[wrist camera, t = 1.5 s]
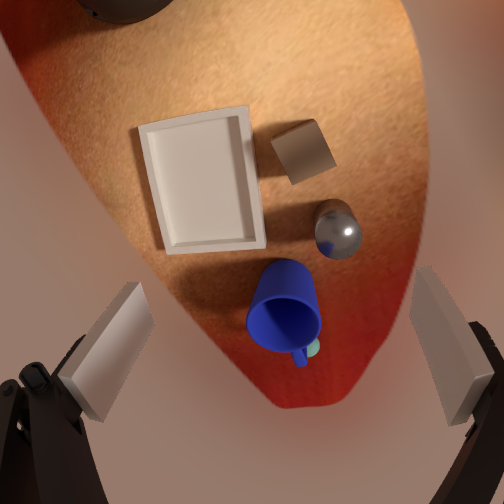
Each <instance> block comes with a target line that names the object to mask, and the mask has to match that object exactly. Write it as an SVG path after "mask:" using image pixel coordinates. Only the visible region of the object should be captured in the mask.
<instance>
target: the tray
mask: <svg viewBox="0 0 504 504" xmlns="http://www.w3.org/2000/svg"><path fill="white" fill-rule="evenodd" d="M138 129H139V135H140V140H141V145H142V150H143V155H144V160H145V165H146V170H147V174H148V179H149V184H150V188H151V192H152V197H153V201H154V205H155V210H156V214H157V218H158V222H159V226H160V230H161V234H162V238H163V242H164V245H165V249H166V253H167V255H171V254H186V253H202V252H217V251H233V250H248V249H264V248H266V243H267V239H266V231H265V223H264V215H263V207H262V199H261V192H260V184H259V177H258V169H257V162H256V154H255V147H254V140H253V132H252V125H251V118H250V111H249V105H245V106H237V107H231V108H224V109H218V110H212V111H206V112H201V113H195V114H190V115H185V116H180V117H175V118H171V119H166V120H162V121H157V122H153V123H149V124H145V125H141V126H138Z"/></svg>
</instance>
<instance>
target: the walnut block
mask: <svg viewBox="0 0 504 504" xmlns="http://www.w3.org/2000/svg"><path fill="white" fill-rule="evenodd" d="M270 142H271V144H272V146H273V148H274V150H275V152H276V154H277V156H278V158H279V160H280V162H281V164H282V166H283V168H284V170H285V172H286V174H287V176H288V178H289V180H290V182H291V184H292V185H294V184H296V183H299V182H301V181H303V180H306V179H308V178H310V177H312V176H315V175H317V174H319V173H322V172H324V171H326V170H329V169H331V168H333V167H336V166H337V165H336V163H335V160H334V158H333V156H332V154H331V152H330V149H329V147H328V145H327V143H326V141H325V139H324V137H323V134H322V132H321V130H320V128H319V126H318V124H317V122H316V121H315V120H314V119H311V120H309V121H306V122H304V123H302V124H300V125H297V126H295V127H293V128H291V129H289V130H286V131H284V132H282V133H280V134H278V135H276V136H274V137H273V138H272V140H271V141H270Z"/></svg>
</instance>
